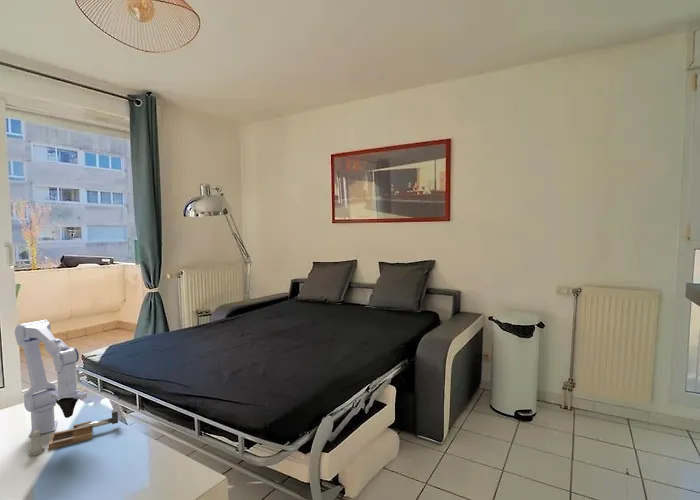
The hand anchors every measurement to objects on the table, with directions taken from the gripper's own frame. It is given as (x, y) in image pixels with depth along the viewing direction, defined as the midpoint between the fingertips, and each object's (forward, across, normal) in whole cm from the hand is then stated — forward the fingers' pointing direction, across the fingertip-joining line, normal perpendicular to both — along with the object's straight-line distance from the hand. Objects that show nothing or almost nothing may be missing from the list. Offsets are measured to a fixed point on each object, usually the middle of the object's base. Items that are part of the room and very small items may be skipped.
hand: (68, 416), depth 141 cm
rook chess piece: (+10, -5, -8) cm, 14 cm away
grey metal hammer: (+7, +5, +7) cm, 12 cm away
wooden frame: (+10, -1, +2) cm, 10 cm away
